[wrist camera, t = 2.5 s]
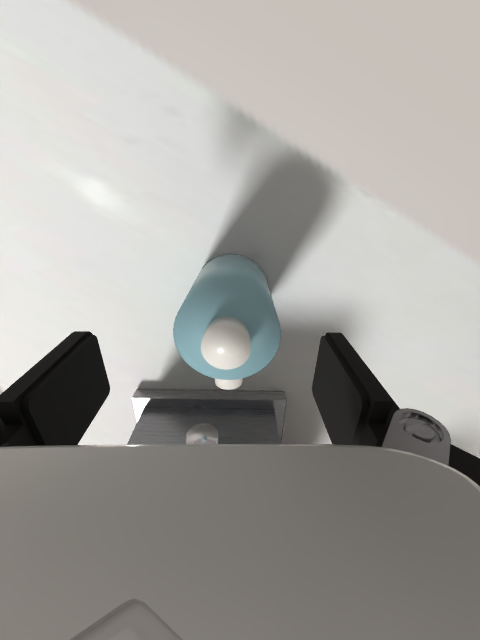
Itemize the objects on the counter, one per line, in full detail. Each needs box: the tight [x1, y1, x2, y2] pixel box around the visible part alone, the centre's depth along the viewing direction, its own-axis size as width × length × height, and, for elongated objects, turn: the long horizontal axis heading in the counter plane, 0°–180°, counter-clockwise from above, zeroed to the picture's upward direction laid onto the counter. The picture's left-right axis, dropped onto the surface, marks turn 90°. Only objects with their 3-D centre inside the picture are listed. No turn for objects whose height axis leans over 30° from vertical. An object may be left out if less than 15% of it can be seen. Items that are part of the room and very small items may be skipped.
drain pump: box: [173, 254, 281, 390], centre depth 17 cm, size 6×7×9 cm
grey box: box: [127, 389, 286, 445], centre depth 22 cm, size 14×17×12 cm
